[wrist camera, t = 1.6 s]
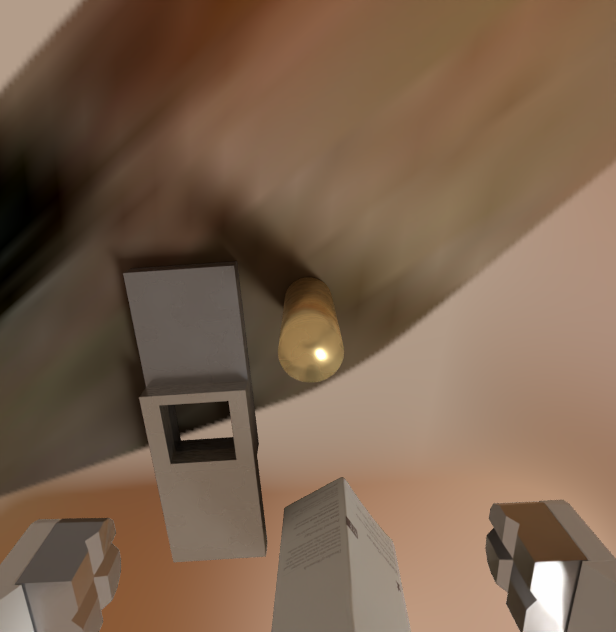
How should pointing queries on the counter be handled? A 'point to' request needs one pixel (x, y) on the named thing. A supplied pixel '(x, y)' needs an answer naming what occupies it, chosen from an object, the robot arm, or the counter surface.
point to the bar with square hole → (199, 387)
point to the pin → (310, 332)
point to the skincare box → (336, 568)
